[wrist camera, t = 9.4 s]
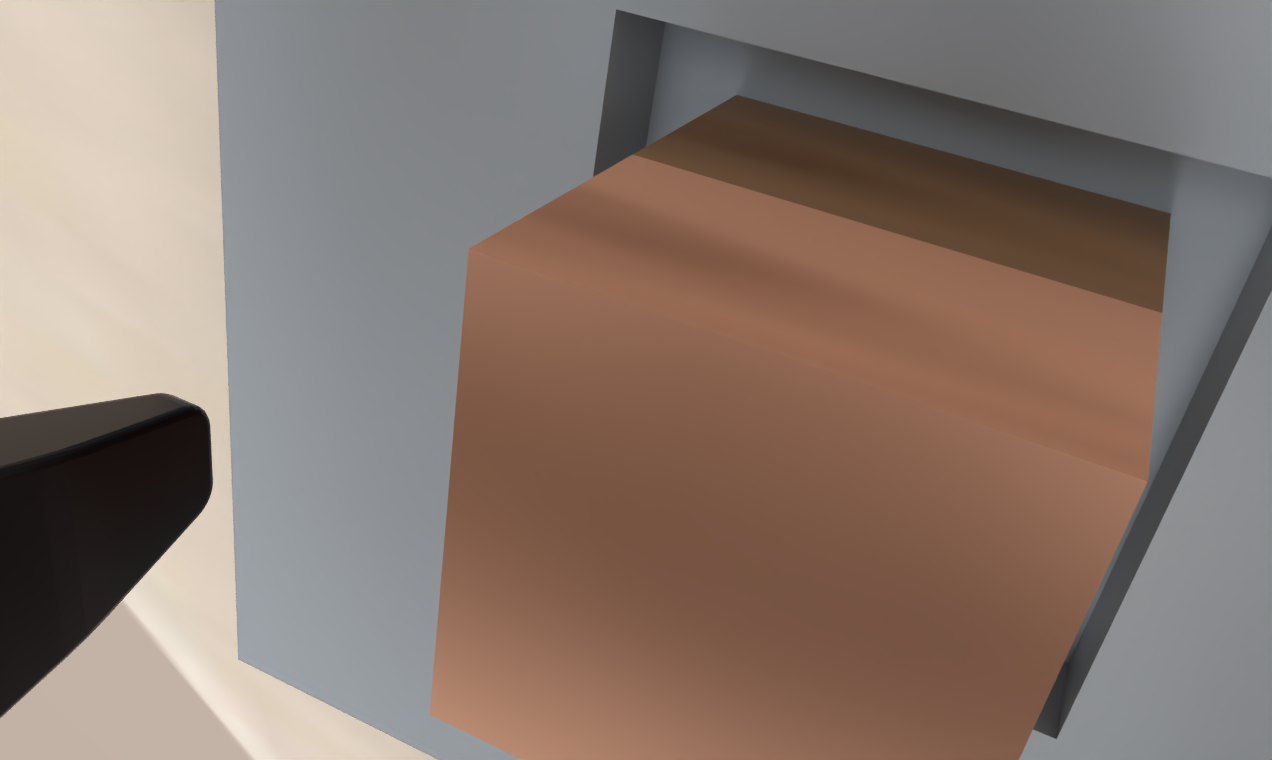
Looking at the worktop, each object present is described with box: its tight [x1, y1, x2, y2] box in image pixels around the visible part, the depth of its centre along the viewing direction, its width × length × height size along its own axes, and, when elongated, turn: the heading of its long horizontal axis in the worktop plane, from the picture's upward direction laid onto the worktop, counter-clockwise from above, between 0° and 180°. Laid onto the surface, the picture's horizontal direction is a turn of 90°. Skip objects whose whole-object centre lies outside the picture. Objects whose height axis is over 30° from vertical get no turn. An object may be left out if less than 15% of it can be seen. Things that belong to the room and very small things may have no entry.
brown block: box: [430, 95, 1171, 760], centre depth 12 cm, size 5×5×6 cm
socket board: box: [215, 0, 1272, 760], centre depth 14 cm, size 18×18×2 cm
